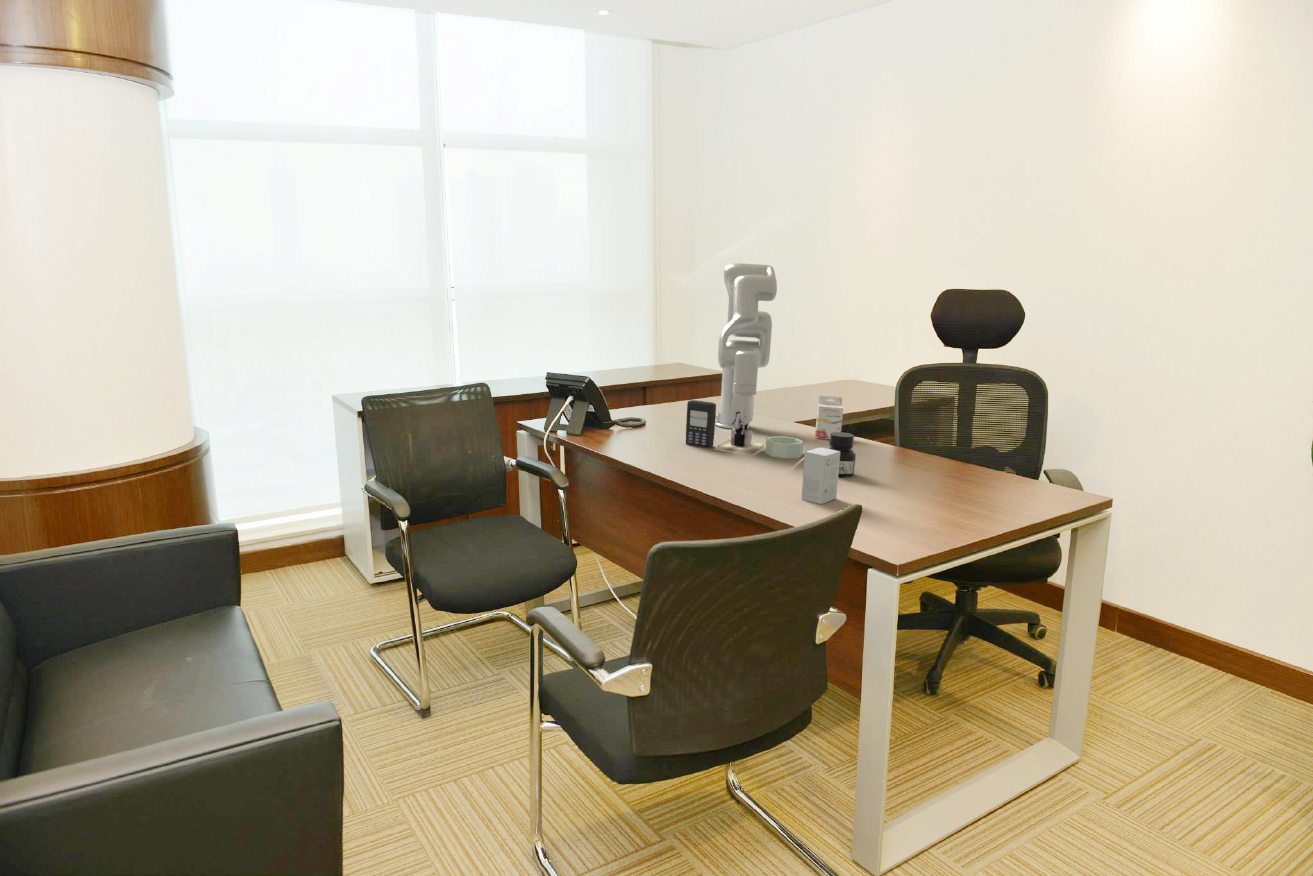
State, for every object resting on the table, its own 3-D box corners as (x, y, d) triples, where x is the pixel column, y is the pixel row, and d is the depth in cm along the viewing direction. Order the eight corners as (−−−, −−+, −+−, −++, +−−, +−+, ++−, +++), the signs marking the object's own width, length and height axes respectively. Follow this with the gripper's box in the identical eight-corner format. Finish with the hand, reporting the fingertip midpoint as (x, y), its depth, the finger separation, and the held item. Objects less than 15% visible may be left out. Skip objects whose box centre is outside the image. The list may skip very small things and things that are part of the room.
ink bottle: (819, 475, 251) (823, 435, 249) (824, 468, 259) (828, 430, 257) (853, 479, 248) (857, 439, 245) (857, 473, 256) (861, 433, 254)
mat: (712, 450, 276) (713, 449, 276) (727, 442, 289) (727, 441, 288) (754, 456, 271) (754, 455, 270) (767, 448, 283) (767, 446, 283)
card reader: (683, 445, 281) (685, 400, 278) (688, 443, 285) (691, 399, 282) (709, 449, 277) (711, 404, 274) (714, 447, 281) (716, 402, 277)
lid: (717, 449, 276) (718, 430, 275) (729, 442, 287) (730, 424, 286) (752, 454, 272) (754, 435, 270) (763, 447, 283) (764, 429, 281)
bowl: (762, 456, 271) (763, 441, 270) (771, 449, 281) (772, 435, 280) (796, 461, 267) (797, 445, 266) (804, 454, 277) (806, 439, 276)
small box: (815, 493, 231) (819, 446, 228) (836, 498, 227) (841, 451, 225) (800, 499, 225) (804, 451, 222) (821, 504, 221) (826, 455, 218)
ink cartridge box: (815, 438, 302) (819, 397, 299) (814, 435, 307) (818, 395, 304) (840, 440, 301) (844, 399, 298) (839, 437, 306) (842, 396, 303)
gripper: (741, 384, 284) (737, 439, 288) (725, 391, 269) (721, 448, 273) (763, 387, 281) (759, 441, 285) (748, 393, 267) (744, 451, 270)
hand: (740, 444), depth 279 cm, fingers closed on lid, 3 cm apart
